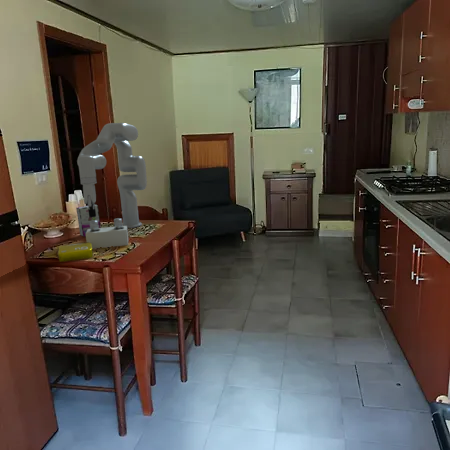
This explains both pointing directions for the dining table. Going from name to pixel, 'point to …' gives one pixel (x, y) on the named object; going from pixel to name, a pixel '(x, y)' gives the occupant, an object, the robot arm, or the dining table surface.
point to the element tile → (75, 252)
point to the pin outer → (94, 225)
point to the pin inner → (118, 223)
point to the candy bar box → (86, 219)
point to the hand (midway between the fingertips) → (92, 216)
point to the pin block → (107, 237)
